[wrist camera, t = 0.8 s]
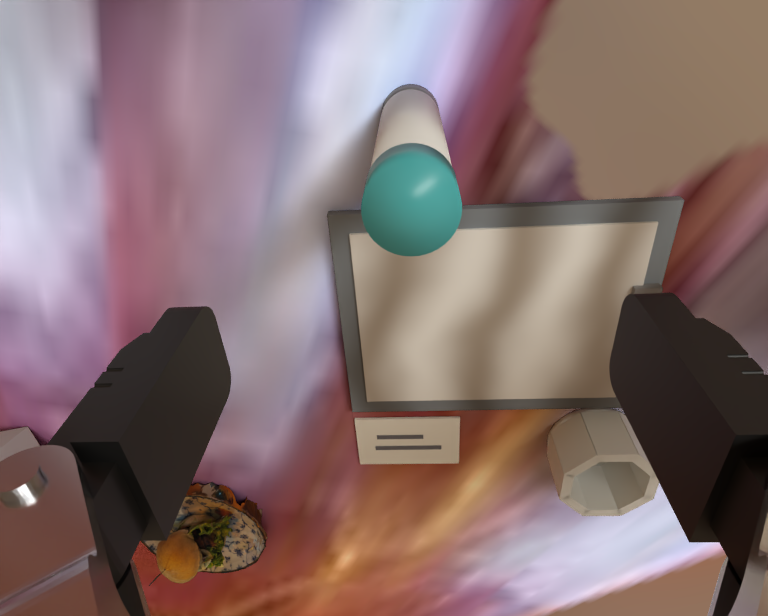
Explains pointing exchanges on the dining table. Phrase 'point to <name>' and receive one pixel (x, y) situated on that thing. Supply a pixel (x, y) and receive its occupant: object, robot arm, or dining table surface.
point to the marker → (411, 177)
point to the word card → (408, 440)
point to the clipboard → (498, 304)
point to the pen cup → (599, 463)
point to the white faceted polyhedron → (16, 441)
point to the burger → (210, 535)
